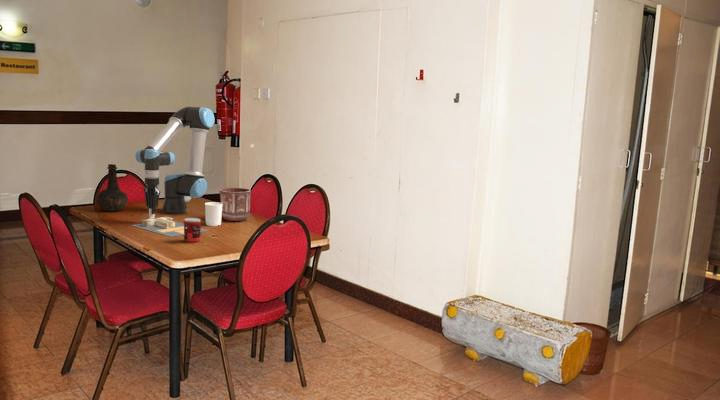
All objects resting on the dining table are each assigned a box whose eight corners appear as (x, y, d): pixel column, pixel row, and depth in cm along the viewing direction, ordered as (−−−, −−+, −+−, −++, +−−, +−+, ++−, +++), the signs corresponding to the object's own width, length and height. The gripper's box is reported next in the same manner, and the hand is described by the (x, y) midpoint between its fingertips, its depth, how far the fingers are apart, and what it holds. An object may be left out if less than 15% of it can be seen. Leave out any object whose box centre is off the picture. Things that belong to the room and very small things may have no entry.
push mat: (169, 220, 350) (169, 219, 350) (209, 230, 328) (209, 230, 328) (131, 225, 331) (131, 225, 331) (170, 237, 309) (170, 236, 309)
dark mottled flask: (111, 206, 381) (111, 161, 376) (134, 209, 375) (134, 164, 370) (89, 210, 364) (88, 164, 360) (113, 214, 358) (112, 166, 354)
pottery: (230, 215, 372) (230, 186, 369) (255, 219, 366) (256, 189, 362) (213, 220, 355) (213, 190, 352) (239, 224, 349) (240, 193, 346)
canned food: (185, 239, 307) (185, 217, 305) (201, 239, 308) (201, 218, 306) (182, 242, 299) (182, 220, 298) (199, 243, 300) (199, 221, 298)
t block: (167, 221, 344) (167, 216, 344) (183, 226, 335) (183, 220, 335) (141, 225, 332) (141, 219, 331) (158, 230, 323) (158, 224, 322)
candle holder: (225, 224, 347) (226, 203, 345) (216, 227, 338) (216, 205, 336) (210, 222, 350) (211, 201, 349) (200, 225, 341) (201, 203, 339)
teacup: (186, 204, 403) (186, 192, 402) (171, 202, 405) (171, 190, 404) (196, 201, 417) (196, 189, 415) (181, 199, 419) (181, 188, 417)
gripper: (139, 176, 336) (139, 218, 340) (152, 179, 328) (152, 222, 332) (151, 175, 342) (151, 217, 346) (164, 178, 334) (164, 220, 338)
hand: (151, 219), depth 339 cm, fingers closed
